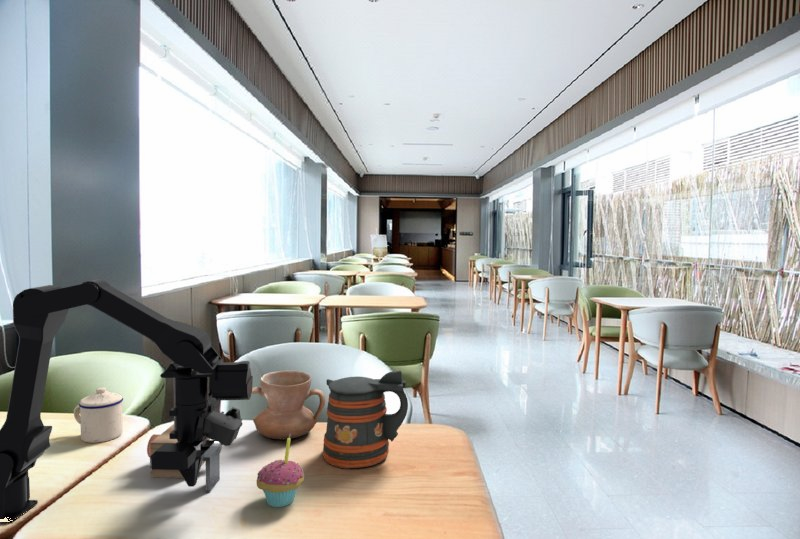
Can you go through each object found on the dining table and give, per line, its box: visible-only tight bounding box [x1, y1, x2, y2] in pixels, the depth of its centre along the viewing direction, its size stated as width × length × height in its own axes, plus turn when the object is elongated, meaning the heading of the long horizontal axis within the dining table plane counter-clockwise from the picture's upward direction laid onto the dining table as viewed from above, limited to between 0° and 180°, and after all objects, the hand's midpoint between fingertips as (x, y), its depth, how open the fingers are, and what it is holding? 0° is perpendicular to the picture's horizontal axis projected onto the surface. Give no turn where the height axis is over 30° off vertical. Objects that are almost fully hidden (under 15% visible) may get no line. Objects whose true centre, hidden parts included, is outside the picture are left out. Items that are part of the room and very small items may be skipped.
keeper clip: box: [202, 446, 221, 493], centre depth 99 cm, size 5×6×7 cm
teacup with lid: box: [73, 386, 124, 444], centre depth 122 cm, size 12×9×12 cm
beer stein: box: [322, 369, 409, 470], centre depth 113 cm, size 19×15×20 cm
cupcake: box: [256, 434, 305, 508], centre depth 93 cm, size 9×8×12 cm
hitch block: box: [150, 423, 211, 479], centre depth 107 cm, size 10×8×7 cm
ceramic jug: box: [251, 370, 326, 440], centre depth 125 cm, size 18×14×14 cm
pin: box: [146, 434, 223, 458], centre depth 107 cm, size 5×14×5 cm, turn 89°
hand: (192, 485), depth 92 cm, fingers closed
